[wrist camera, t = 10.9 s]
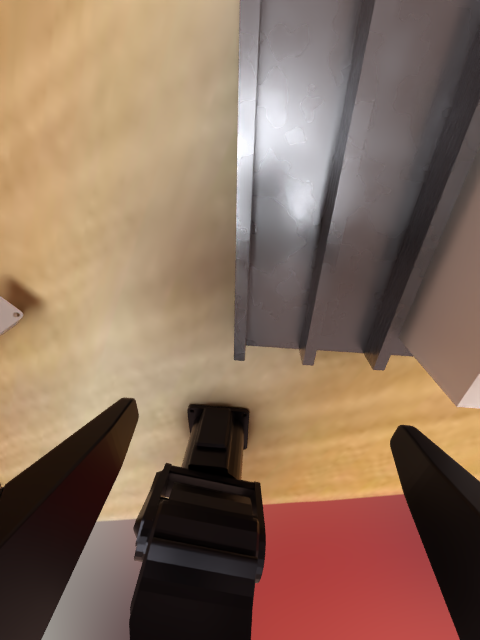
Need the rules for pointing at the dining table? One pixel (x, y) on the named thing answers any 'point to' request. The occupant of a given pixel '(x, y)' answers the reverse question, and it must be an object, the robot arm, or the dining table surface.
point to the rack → (347, 165)
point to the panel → (452, 302)
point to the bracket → (8, 316)
